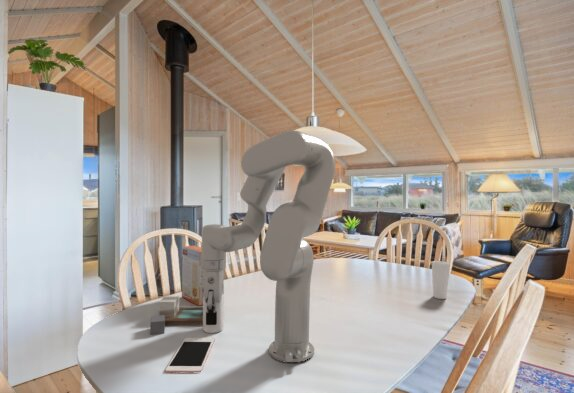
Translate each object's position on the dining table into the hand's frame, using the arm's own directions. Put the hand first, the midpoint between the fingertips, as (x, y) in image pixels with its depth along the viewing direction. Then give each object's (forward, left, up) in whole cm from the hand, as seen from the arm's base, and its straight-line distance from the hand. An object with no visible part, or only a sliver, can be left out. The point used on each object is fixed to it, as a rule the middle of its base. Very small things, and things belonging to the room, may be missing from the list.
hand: (213, 319), depth 107 cm
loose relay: (-1, +17, -3) cm, 17 cm away
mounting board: (+9, +9, -3) cm, 13 cm away
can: (0, 0, -3) cm, 3 cm away
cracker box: (+27, +11, -3) cm, 30 cm away
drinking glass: (+31, -90, -3) cm, 95 cm away
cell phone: (-16, +3, -4) cm, 17 cm away
